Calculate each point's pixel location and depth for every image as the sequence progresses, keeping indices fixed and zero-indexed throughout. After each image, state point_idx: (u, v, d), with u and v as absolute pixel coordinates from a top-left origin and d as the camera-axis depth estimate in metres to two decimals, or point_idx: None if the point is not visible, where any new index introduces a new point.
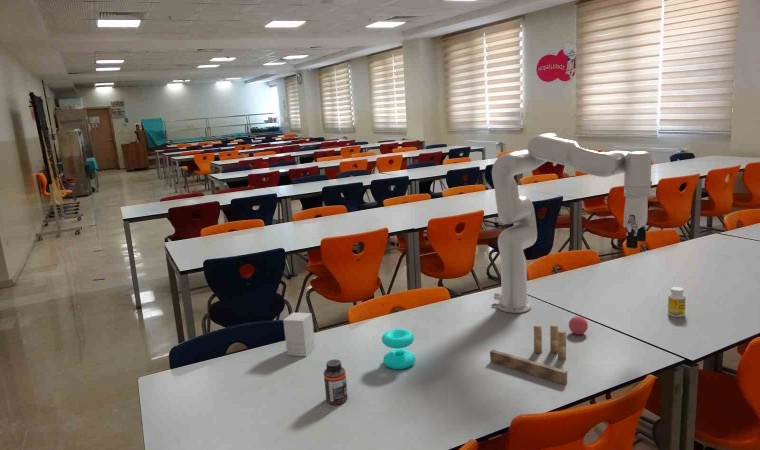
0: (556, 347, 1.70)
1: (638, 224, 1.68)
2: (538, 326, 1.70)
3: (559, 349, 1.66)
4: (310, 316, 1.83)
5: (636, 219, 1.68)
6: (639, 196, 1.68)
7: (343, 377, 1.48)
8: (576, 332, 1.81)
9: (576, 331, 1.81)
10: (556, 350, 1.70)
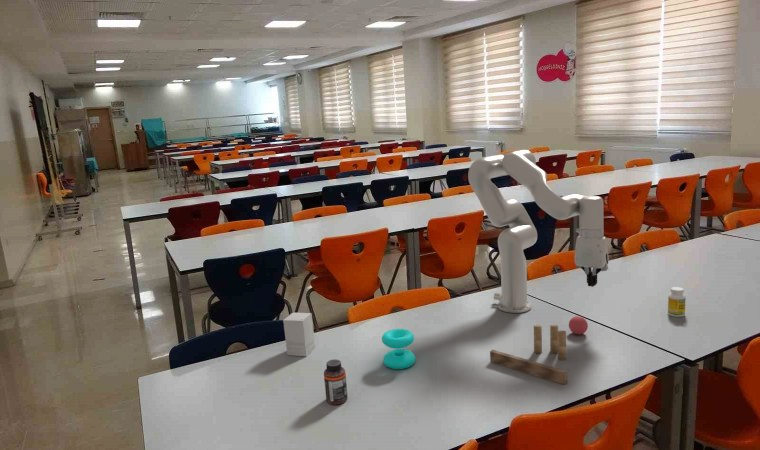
0: (556, 347, 1.70)
1: None
2: (538, 326, 1.70)
3: (559, 349, 1.66)
4: (310, 316, 1.83)
5: None
6: (603, 236, 1.82)
7: (343, 377, 1.48)
8: (576, 332, 1.81)
9: (576, 331, 1.81)
10: (556, 350, 1.70)
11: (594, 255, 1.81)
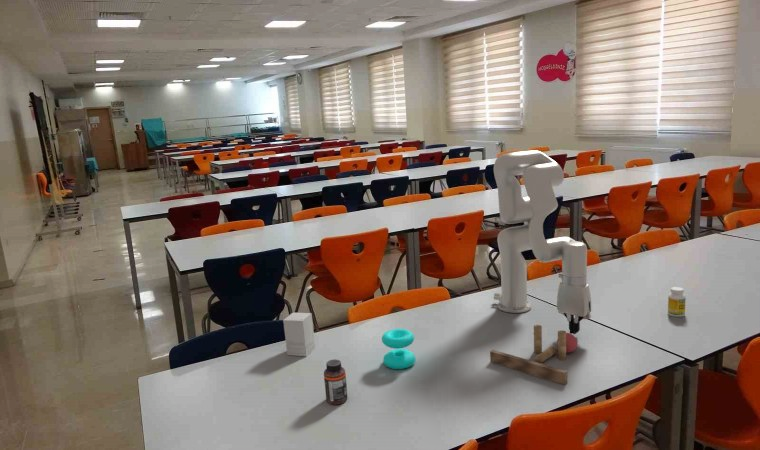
0: None
1: None
2: (538, 326, 1.70)
3: (559, 349, 1.66)
4: (310, 316, 1.83)
5: (590, 304, 1.76)
6: (586, 283, 1.76)
7: (343, 377, 1.48)
8: (570, 339, 1.68)
9: (571, 339, 1.68)
10: None
11: (576, 303, 1.75)
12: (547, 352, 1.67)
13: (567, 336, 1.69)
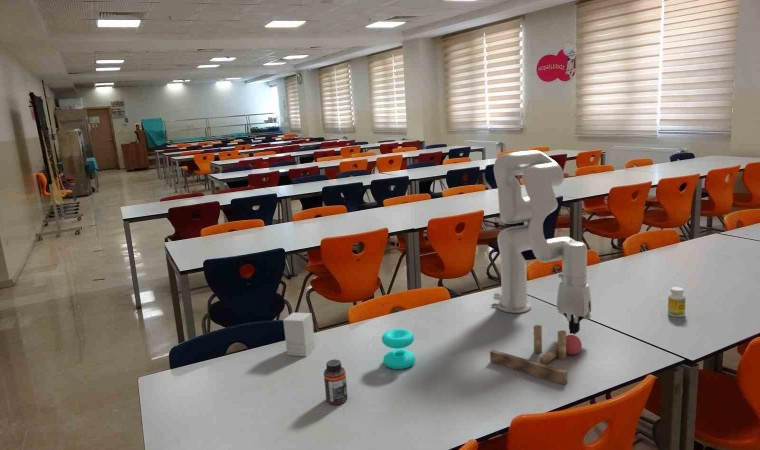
0: None
1: None
2: (538, 326, 1.70)
3: (559, 349, 1.66)
4: (310, 316, 1.83)
5: (590, 304, 1.76)
6: (586, 283, 1.76)
7: (343, 377, 1.48)
8: (576, 347, 1.66)
9: (578, 346, 1.66)
10: None
11: (576, 303, 1.75)
12: (553, 357, 1.66)
13: (574, 343, 1.66)
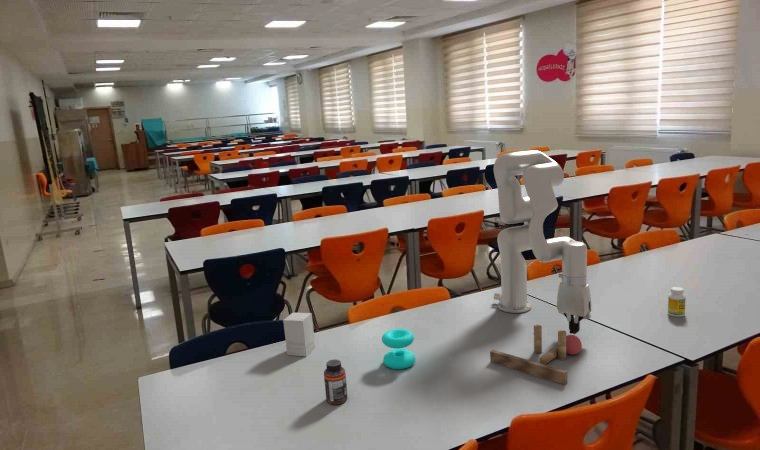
0: None
1: None
2: (538, 326, 1.70)
3: (559, 349, 1.66)
4: (310, 316, 1.83)
5: (590, 304, 1.76)
6: (586, 283, 1.76)
7: (343, 377, 1.48)
8: (576, 347, 1.66)
9: (578, 346, 1.66)
10: None
11: (576, 303, 1.75)
12: (553, 358, 1.66)
13: (574, 343, 1.66)
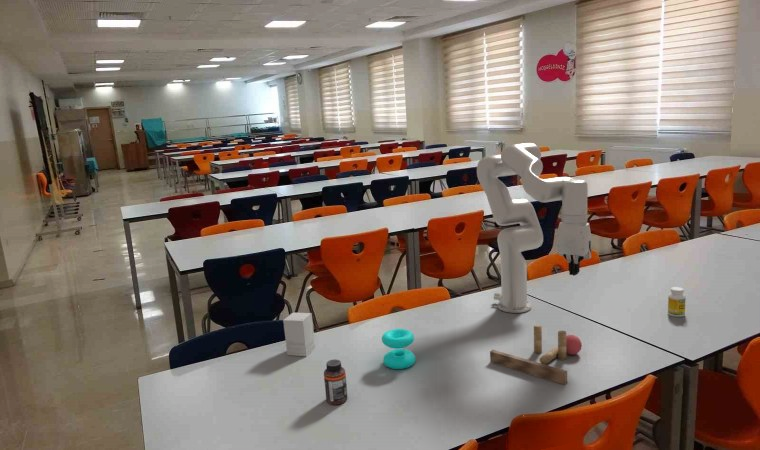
0: None
1: None
2: (538, 326, 1.70)
3: (559, 349, 1.66)
4: (310, 316, 1.83)
5: (591, 244, 1.73)
6: None
7: (343, 377, 1.48)
8: (576, 347, 1.66)
9: (578, 346, 1.66)
10: None
11: (576, 242, 1.72)
12: (553, 358, 1.66)
13: (574, 343, 1.66)
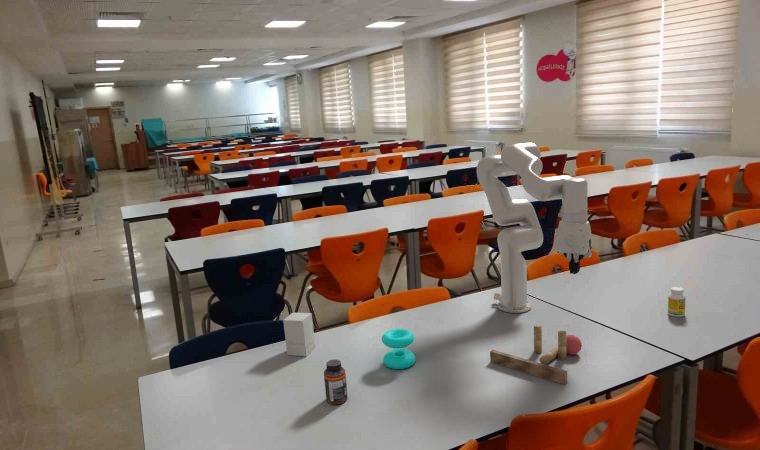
0: None
1: None
2: (538, 326, 1.70)
3: (559, 349, 1.66)
4: (310, 316, 1.83)
5: (591, 242, 1.72)
6: None
7: (343, 377, 1.48)
8: (576, 347, 1.66)
9: (578, 346, 1.66)
10: None
11: (577, 241, 1.71)
12: (553, 358, 1.66)
13: (574, 343, 1.66)
